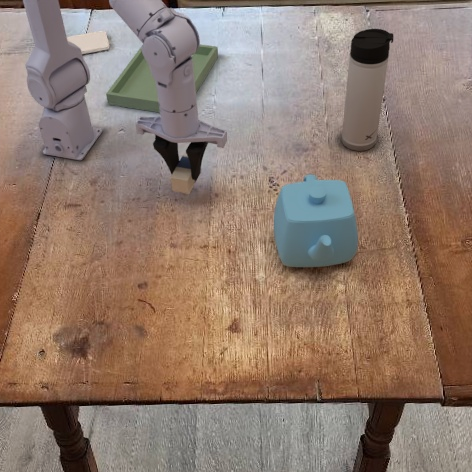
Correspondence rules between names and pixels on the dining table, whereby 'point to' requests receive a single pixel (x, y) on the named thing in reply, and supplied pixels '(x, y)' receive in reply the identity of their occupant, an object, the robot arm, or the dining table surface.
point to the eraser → (182, 176)
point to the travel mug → (365, 88)
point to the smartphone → (90, 41)
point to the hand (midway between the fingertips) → (186, 174)
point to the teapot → (315, 223)
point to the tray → (144, 86)
